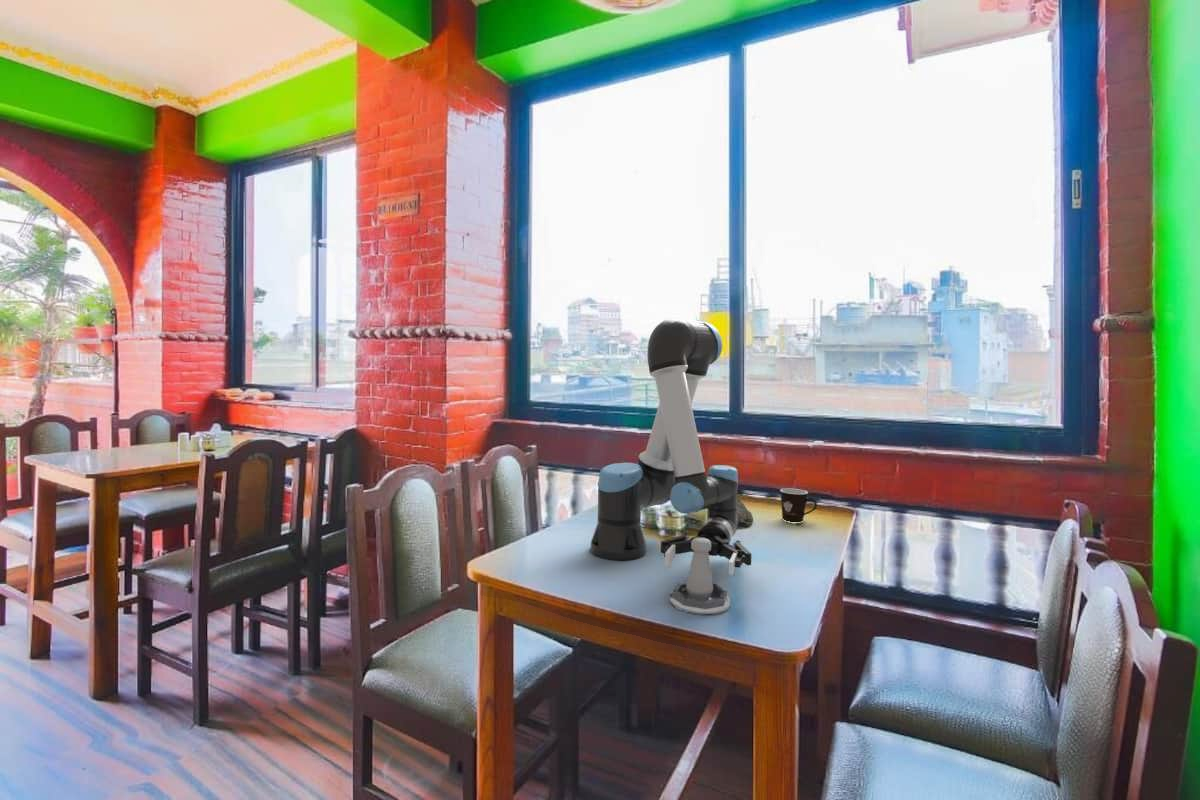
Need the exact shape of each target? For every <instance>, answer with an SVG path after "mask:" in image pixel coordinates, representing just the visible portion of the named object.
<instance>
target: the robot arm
mask: <svg viewBox="0 0 1200 800" xmlns="http://www.w3.org/2000/svg"><path fill="white" fill-rule="evenodd" d="M648 339H649V340H648V343H647V353H646V354H647V355H646V357H647V364H648V370H649V371H648V372H649V376H650V377H652V378H653V379H654V380H655V386H656V390H657V395H658V399H659V403H658V405H657V410H656V414H655V417H654V421H653V425H652V428H651V432H650V435H649V438H648V441H647V447H646V450H644V451H642V452H641V453H640V454H639V456H638V458H637V462H636V463H634V462H620V463H618V462H617V463H612V464H611V463H610V464H608V465H605V466H603V467H602V468H601V469H600V471H599V475H598V481H597V493H598V494H597V523H596V527H595V529H594V532H593V536H592V538H591V541H590V552H591V554H593V555H595V556H597V557H599V558H602V559H607V560H612V561H613V560H614V561H615V560H616V561H627V560H629V561H630V560H636V559H639V558H641V557H643V556H645V555H646V553H647V542H646V539H645V535H644V532H643V529H642V524H641V521H642V520H641V519H642V518H641V516H642V513H641V512H642V509H645V508H646V509H647V508H649V507H654V506H660V505H664V504H665V503H667V502H670V504H671V506H672V507H673V508H674V509H675V510H676V512H678V513H681V514H685V515H686V514H687V515H688V514H692V513H698V512H701V511H703V510H706V521H705V522H704V524H703V525H702V526H701V528H700V529H699V531H698V532H697V535H695V536H692V537H689V534H688V533H683V534H680V535H677V536H676V537H671V538H669V539H665V540H662V541H660V553H661V554H664V555H663V556H664V566H667V567H668V566H670V565H671V563H672V561H673V560H674V559H675V558H676V555H679V554H684V553H685V554H686V553H691V552H692V553H694V550H692V548H691V542H692V540H693V539H694V538H706V539H708V540H710V541H711V550H710V551H708V554H709V556H711V557H716V556H719V557H721V558H722V557H724V558H726V559H727V560H729V561H728V575H729V576H733V574H734V572H735V570H736V568H738V569H740V568H741V567H742V565H743V564H744V565H745V566H752V556H753V555H752V553H751V552H750V551H749V550H748V549H747V548H746V547H745V546H744V545H742V543H741V540H739V539H737V540H735V541H733V542H731V541H732V539H733V537H734V536H735V535H736V533H737V530H738V525H739V523H738V519H737V498H738V490H739V489H738V488H739V487H738V486H739V474H738V473H739V472H738V469H737V468H736V467H734V466H731V465H726V464H725V465H720V464H719V465H718V464H717V465H716V464H715V465H711V466H709V468H708V472H707V473H706V470H705V469H706V468H705V465H704V460H703V455H702V449H701V446H700V445H701V444H700V441H699V435H698V429H697V425H696V422H695V421H696V420H695V416H694V411H693V405H692V404H693V400H694V397H695V395H696V391H697V388H698V384H699V380H701V379H703V378H705V377H706V376H707V374H708V370H709V366H710V365H712V364H714V363H715V362H716V361H717V360H718V359H719V358H720V356H721V354H722V350H723V339H722V337H721V334H720V332H719V331H718V329H717V328H716V327H715V326H714V325H713V324H711V323H708V322H706V321H703V320H702V321H700V320H695V319H693V320H692V319H681V318H669V319H666V320H663V321H662V322H659V324H657V325H656V326H655V328H654V329H653V330H652V332H651V333H650V336H649V338H648Z"/></svg>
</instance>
